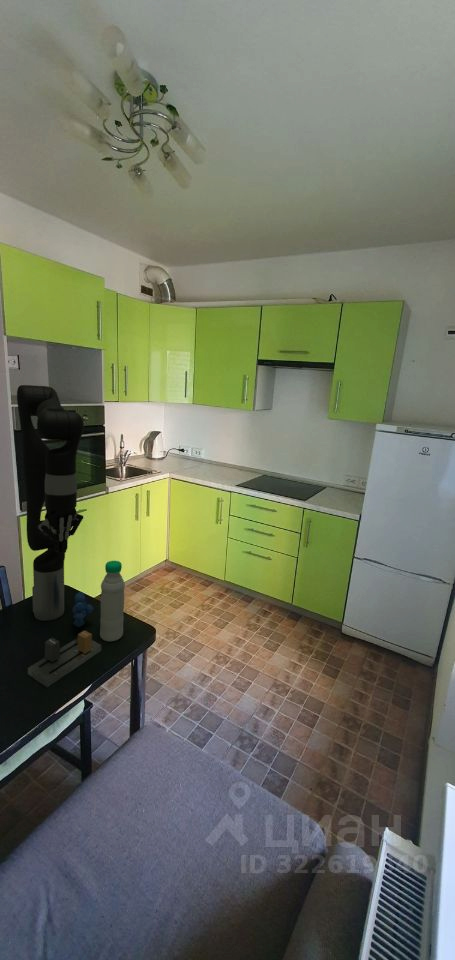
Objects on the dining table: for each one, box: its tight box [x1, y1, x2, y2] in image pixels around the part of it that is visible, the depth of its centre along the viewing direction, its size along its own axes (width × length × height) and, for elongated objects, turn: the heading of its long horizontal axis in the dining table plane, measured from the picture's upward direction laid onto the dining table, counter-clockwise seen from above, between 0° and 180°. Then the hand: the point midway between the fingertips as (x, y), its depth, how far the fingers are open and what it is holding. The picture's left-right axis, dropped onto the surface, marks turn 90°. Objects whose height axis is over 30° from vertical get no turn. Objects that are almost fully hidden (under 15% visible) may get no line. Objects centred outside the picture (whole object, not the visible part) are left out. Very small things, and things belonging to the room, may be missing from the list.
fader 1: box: [44, 637, 61, 662], centre depth 107 cm, size 3×2×5 cm
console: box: [27, 637, 102, 688], centre depth 110 cm, size 8×18×2 cm, turn 150°
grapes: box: [71, 591, 94, 628], centre depth 125 cm, size 12×7×12 cm, turn 18°
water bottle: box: [99, 560, 126, 642], centre depth 120 cm, size 7×7×25 cm
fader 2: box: [77, 630, 93, 654], centre depth 111 cm, size 3×2×5 cm
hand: (61, 552), depth 103 cm, fingers closed
